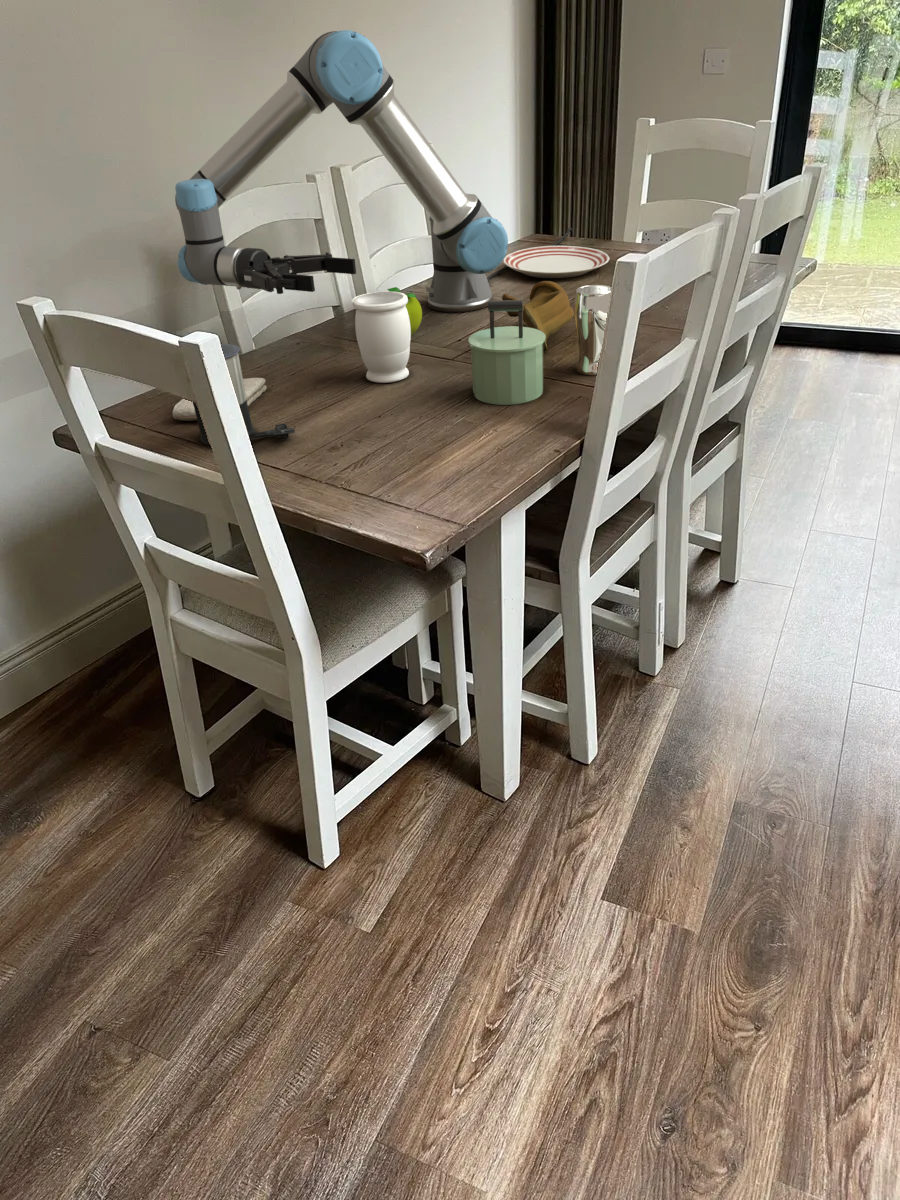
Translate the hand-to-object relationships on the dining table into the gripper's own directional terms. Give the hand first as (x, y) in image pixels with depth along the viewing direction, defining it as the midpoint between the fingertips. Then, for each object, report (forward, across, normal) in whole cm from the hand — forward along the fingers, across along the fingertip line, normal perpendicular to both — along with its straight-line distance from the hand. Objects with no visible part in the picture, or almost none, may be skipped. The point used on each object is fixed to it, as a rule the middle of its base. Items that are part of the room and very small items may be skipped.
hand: (334, 275), depth 174 cm
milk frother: (+4, +35, -19) cm, 40 cm away
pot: (+36, 0, -18) cm, 40 cm away
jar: (+10, 0, -19) cm, 21 cm away
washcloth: (-11, +24, -19) cm, 32 cm away
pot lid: (+36, 0, -9) cm, 37 cm away
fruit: (-1, -23, -19) cm, 30 cm away
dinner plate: (+8, -86, -18) cm, 88 cm away
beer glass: (+46, -16, -18) cm, 52 cm away
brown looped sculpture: (+29, -29, -18) cm, 45 cm away
